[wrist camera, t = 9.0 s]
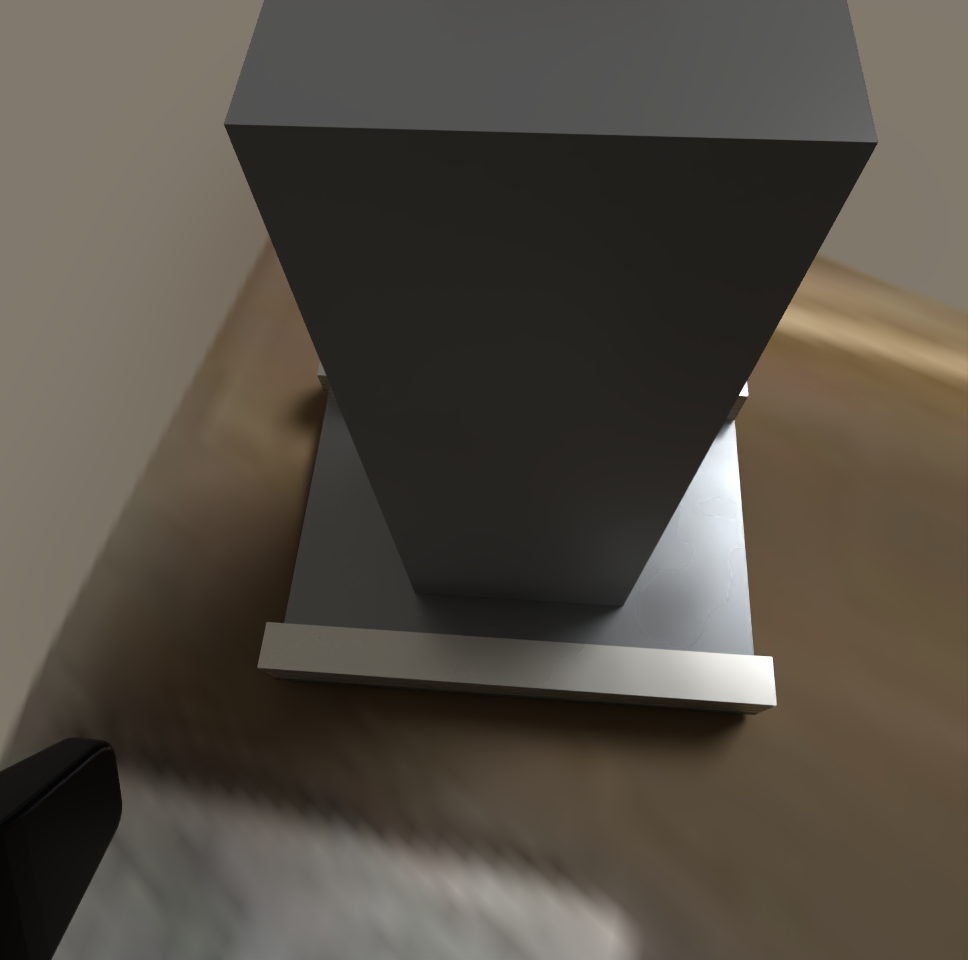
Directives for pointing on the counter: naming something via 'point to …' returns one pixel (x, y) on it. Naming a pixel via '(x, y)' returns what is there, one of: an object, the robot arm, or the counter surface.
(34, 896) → the robot arm
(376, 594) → the rail seat
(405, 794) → the counter surface
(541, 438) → the block
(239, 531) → the counter surface
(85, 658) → the counter surface
